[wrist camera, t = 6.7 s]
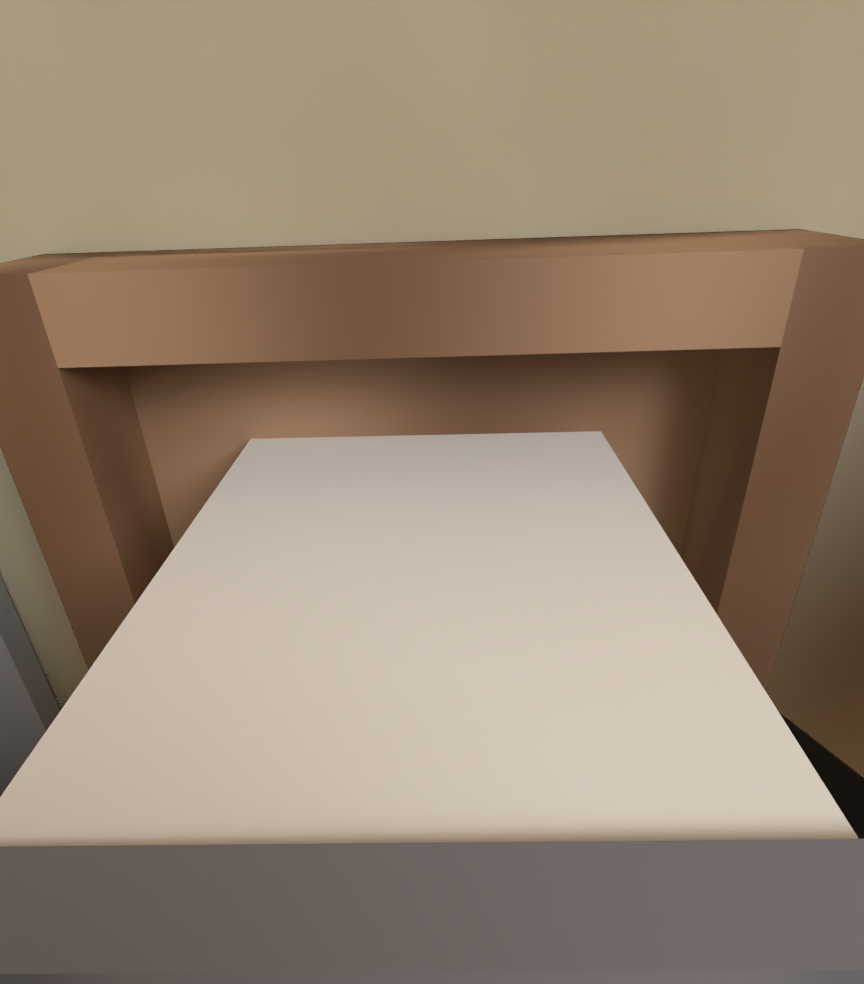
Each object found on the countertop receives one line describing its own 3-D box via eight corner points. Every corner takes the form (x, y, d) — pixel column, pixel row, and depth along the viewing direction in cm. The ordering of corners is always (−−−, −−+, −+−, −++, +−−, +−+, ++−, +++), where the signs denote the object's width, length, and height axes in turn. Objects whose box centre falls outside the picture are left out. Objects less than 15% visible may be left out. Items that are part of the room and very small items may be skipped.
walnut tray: (799, 228, 8) (904, 246, 6) (664, 814, 13) (698, 910, 12) (43, 254, 8) (-67, 277, 6) (218, 819, 14) (186, 915, 12)
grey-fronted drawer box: (608, 424, 9) (981, 969, 3) (568, 767, 12) (694, 1339, 6) (242, 432, 9) (-163, 976, 3) (305, 770, 12) (179, 1337, 6)
